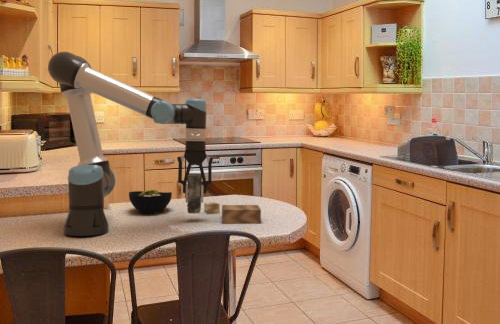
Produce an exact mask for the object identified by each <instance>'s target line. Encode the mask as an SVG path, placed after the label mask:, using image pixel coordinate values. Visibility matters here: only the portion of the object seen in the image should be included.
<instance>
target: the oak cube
mask: <svg viewBox="0 0 500 324" xmlns="http://www.w3.org/2000/svg"><path fill="white" fill-rule="evenodd" d="M203 203H204V210H203V211H204V213H205V212H206V213H205V214H206V215H212V214H215V213H216V214H220V210H221V208H220V205H221V204H220V203H219V202H216V201H215V202H203ZM216 214H215V215H216Z"/></svg>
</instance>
